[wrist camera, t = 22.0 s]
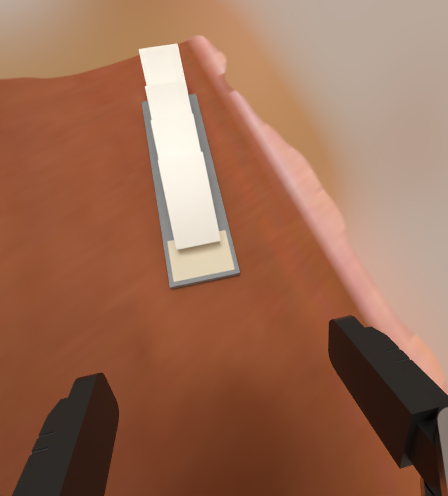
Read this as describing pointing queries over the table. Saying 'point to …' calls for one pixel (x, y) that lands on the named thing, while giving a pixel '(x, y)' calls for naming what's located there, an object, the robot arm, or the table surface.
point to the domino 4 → (189, 200)
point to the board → (178, 261)
